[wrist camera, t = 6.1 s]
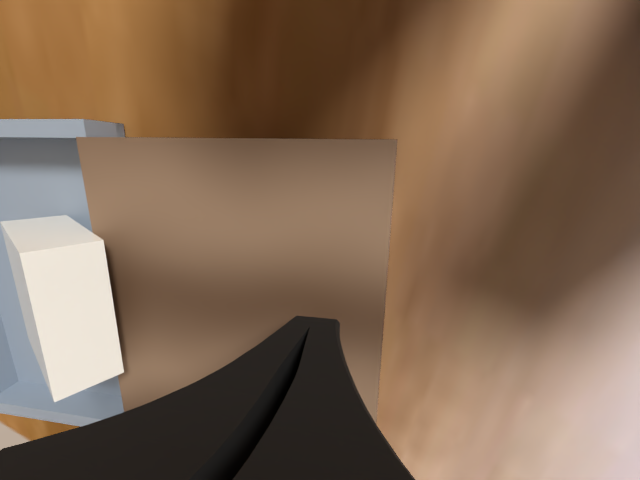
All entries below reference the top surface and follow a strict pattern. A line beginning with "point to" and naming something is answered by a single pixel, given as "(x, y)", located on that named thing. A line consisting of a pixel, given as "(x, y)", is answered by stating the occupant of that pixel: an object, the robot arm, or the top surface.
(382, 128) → the top surface
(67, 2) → the top surface
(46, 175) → the tray
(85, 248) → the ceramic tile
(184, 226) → the walnut board
